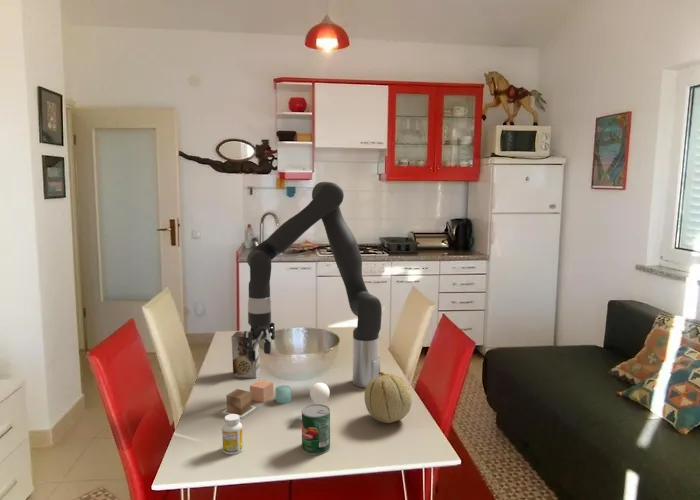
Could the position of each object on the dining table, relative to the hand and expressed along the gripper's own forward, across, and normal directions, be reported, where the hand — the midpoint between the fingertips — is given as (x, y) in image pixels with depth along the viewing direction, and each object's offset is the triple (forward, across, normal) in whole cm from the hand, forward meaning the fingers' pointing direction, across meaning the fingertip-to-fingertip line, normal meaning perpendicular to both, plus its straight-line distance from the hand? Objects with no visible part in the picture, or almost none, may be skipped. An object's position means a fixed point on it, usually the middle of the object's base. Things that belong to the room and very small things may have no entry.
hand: (259, 357), depth 175 cm
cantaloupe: (+14, +4, -45) cm, 47 cm away
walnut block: (+14, -11, 0) cm, 18 cm away
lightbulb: (+15, -3, -25) cm, 29 cm away
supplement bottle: (+15, -31, -13) cm, 37 cm away
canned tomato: (+15, -20, -33) cm, 41 cm away
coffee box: (+15, +16, +18) cm, 28 cm away
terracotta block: (+15, 0, -1) cm, 15 cm away
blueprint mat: (+15, -11, 0) cm, 18 cm away
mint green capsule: (+15, +1, -9) cm, 17 cm away
